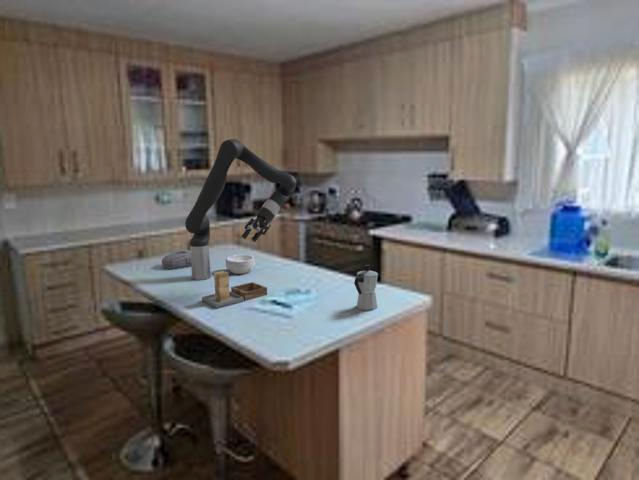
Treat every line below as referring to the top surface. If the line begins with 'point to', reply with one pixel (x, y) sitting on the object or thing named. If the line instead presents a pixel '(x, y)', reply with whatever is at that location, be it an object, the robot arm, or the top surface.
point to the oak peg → (221, 286)
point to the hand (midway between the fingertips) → (248, 239)
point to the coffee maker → (366, 289)
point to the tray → (217, 304)
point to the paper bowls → (240, 263)
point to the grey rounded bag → (177, 260)
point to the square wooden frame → (256, 290)
